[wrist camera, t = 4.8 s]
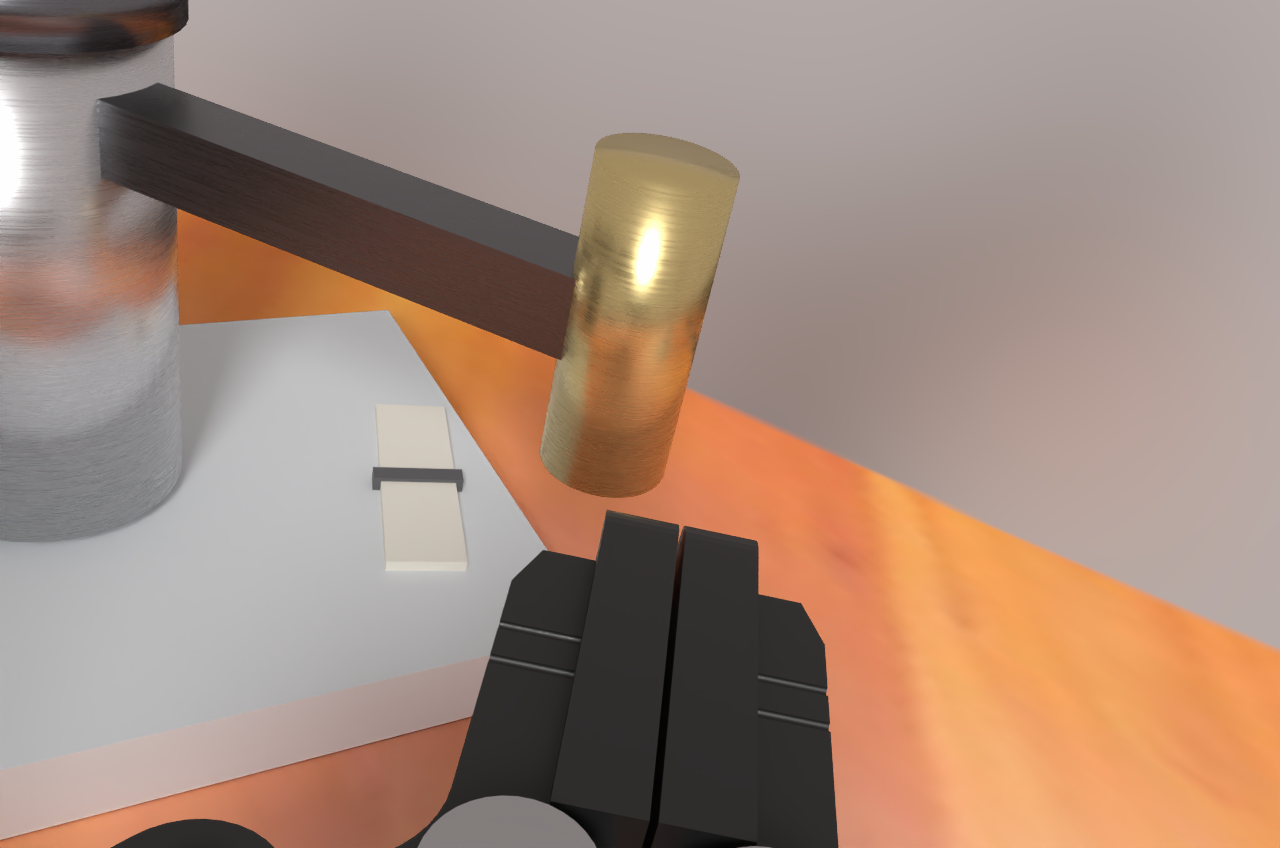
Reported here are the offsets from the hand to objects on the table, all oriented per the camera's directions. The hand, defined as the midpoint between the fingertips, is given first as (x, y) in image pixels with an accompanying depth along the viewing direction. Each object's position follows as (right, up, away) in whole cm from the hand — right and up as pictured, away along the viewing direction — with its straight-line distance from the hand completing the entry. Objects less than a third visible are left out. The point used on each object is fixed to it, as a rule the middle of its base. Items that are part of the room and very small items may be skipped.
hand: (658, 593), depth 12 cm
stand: (-14, -2, +18) cm, 23 cm away
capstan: (-9, -1, +16) cm, 19 cm away
